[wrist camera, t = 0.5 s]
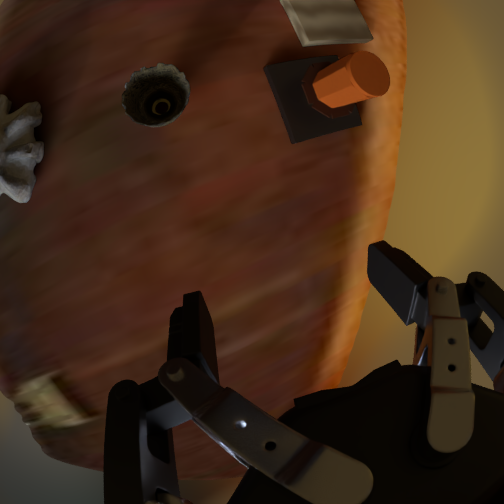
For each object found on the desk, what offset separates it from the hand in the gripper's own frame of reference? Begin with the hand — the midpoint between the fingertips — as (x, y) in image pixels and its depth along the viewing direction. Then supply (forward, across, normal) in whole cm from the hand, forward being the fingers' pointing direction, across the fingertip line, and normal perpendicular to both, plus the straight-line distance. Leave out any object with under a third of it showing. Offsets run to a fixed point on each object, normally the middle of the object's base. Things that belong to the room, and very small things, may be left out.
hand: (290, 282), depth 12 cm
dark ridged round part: (+28, +7, -11) cm, 31 cm away
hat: (+24, -15, -9) cm, 30 cm away
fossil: (+26, +33, -16) cm, 45 cm away
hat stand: (+30, -14, -8) cm, 34 cm away
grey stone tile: (+33, -20, -24) cm, 45 cm away
